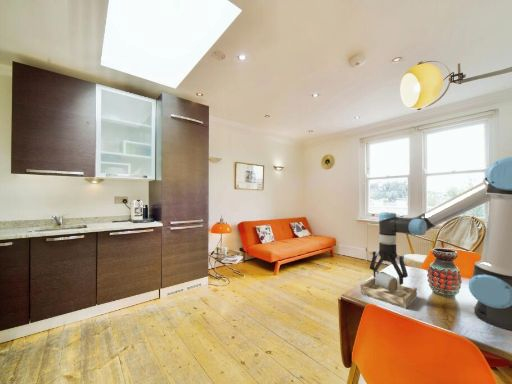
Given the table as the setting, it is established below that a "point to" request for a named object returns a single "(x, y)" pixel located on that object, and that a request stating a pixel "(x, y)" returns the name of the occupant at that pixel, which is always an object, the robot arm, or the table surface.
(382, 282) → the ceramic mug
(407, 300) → the crate
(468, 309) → the table surface
